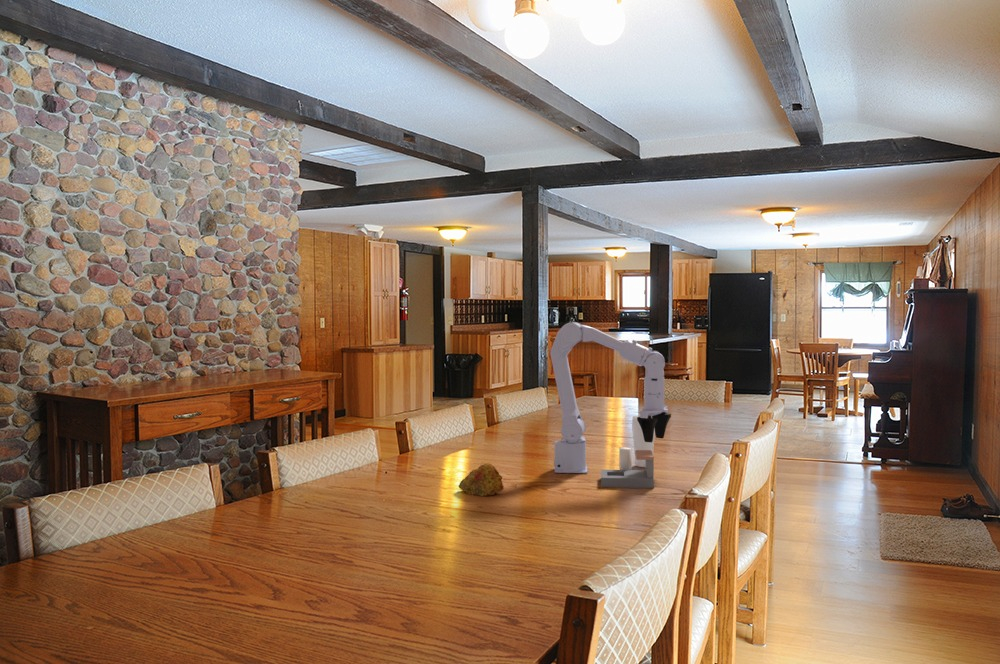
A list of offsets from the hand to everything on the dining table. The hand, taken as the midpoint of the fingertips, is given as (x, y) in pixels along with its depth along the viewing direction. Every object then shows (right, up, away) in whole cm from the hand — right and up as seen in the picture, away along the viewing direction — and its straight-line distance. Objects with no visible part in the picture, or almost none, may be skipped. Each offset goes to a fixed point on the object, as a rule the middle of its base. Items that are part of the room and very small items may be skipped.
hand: (654, 440), depth 211 cm
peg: (-9, -10, -2) cm, 14 cm away
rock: (-49, -11, -18) cm, 54 cm away
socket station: (-10, -10, -10) cm, 18 cm away
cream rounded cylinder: (-1, -10, +11) cm, 14 cm away
